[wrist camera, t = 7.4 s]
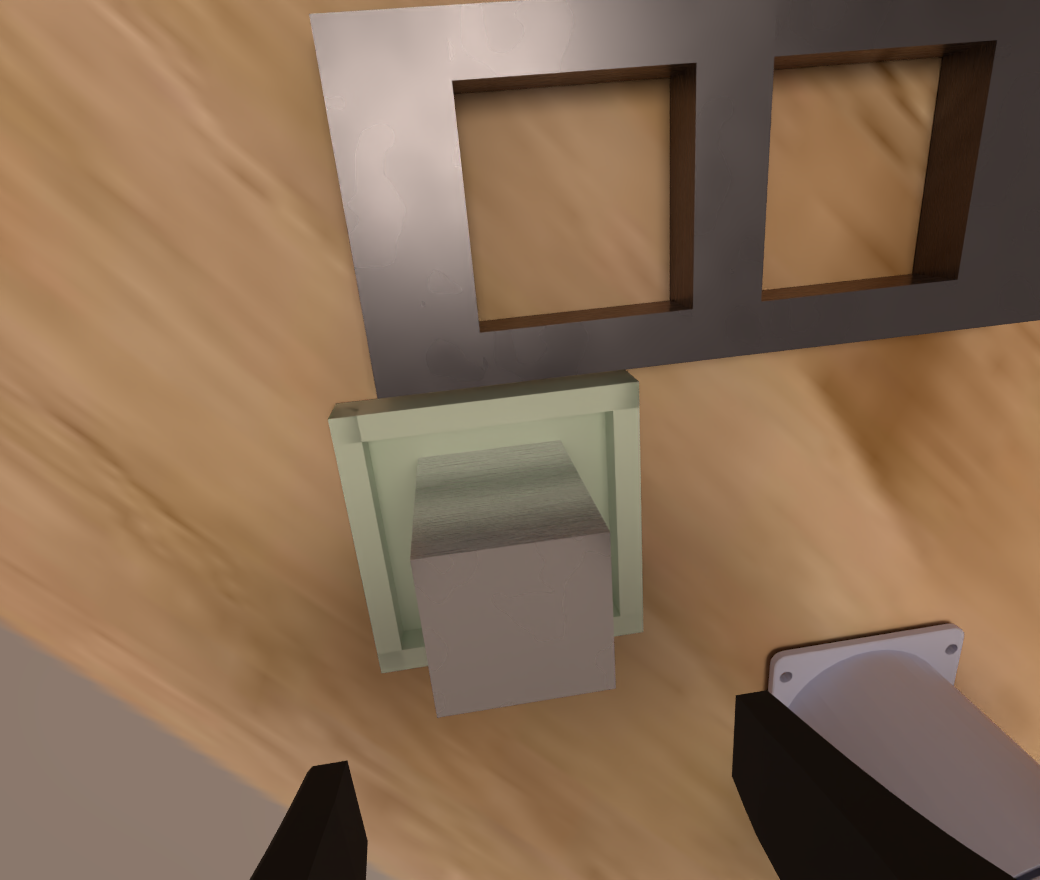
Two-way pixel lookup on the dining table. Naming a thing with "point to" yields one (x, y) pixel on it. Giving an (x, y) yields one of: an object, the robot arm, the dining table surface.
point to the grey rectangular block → (511, 578)
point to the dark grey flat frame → (675, 175)
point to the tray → (470, 427)
